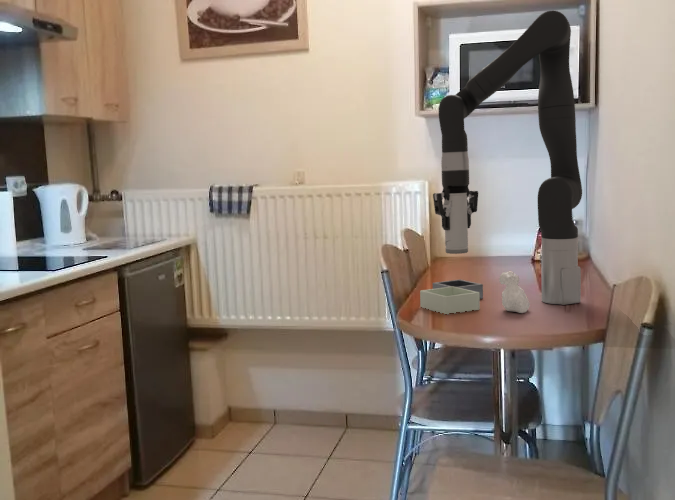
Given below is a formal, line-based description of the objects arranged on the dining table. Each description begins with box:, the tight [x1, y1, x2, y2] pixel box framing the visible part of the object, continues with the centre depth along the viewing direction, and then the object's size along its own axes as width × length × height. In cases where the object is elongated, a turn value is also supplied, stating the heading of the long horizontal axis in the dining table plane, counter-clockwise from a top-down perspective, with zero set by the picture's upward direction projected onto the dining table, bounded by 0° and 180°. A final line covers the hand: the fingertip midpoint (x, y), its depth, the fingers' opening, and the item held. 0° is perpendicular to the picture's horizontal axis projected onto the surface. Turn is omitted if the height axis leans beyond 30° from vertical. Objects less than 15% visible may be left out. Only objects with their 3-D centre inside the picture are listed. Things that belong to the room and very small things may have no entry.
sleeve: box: [432, 279, 484, 300], centre depth 199 cm, size 11×10×4 cm
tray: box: [419, 286, 481, 315], centre depth 185 cm, size 12×11×4 cm
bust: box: [498, 270, 530, 314], centre depth 179 cm, size 12×8×11 cm
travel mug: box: [443, 186, 469, 255], centre depth 197 cm, size 6×7×20 cm
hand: (456, 228), depth 197 cm, fingers closed on travel mug, 6 cm apart
